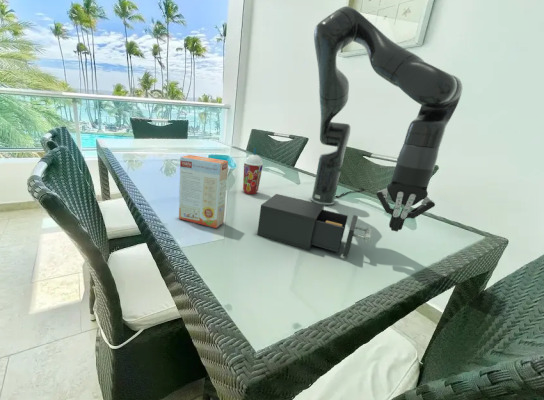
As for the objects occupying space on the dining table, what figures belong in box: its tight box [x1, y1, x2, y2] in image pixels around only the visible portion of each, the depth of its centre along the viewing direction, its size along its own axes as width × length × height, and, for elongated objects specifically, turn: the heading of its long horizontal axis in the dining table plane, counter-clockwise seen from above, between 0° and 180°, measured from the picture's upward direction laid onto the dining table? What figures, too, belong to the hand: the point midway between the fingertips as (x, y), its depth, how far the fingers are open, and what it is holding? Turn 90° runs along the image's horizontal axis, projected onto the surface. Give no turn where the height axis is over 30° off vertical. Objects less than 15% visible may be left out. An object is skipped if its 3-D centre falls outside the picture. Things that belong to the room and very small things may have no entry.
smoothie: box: [242, 147, 264, 195], centre depth 120 cm, size 8×8×20 cm
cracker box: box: [178, 154, 229, 229], centre depth 86 cm, size 14×6×21 cm, turn 65°
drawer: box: [311, 209, 373, 258], centre depth 79 cm, size 19×13×8 cm
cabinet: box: [256, 193, 325, 251], centre depth 84 cm, size 16×14×10 cm
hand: (394, 229), depth 71 cm, fingers closed
